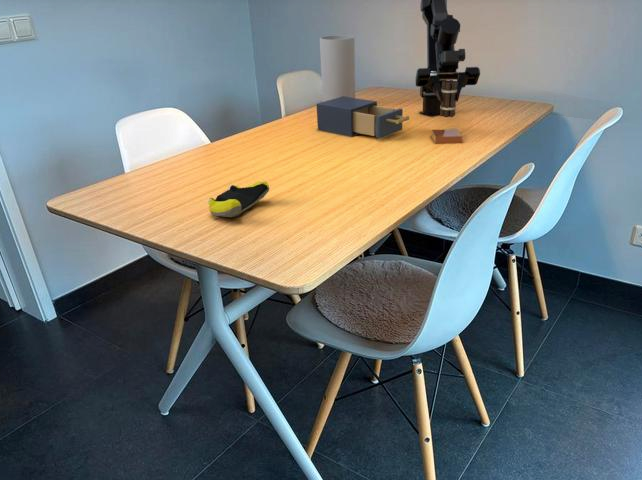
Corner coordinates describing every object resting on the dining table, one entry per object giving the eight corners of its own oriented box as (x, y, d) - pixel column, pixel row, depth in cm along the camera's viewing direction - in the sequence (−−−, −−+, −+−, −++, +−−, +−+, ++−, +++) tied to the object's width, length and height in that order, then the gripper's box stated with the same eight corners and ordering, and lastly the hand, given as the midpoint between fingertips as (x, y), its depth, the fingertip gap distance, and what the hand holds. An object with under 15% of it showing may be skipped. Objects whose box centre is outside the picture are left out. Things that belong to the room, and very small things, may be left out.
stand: (431, 136, 176) (431, 129, 175) (456, 135, 176) (457, 129, 175) (435, 143, 169) (435, 136, 168) (461, 142, 169) (462, 136, 168)
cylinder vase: (362, 107, 213) (361, 36, 200) (339, 113, 205) (337, 40, 193) (338, 102, 220) (336, 34, 208) (316, 108, 212) (312, 38, 200)
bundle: (436, 115, 169) (438, 81, 164) (447, 112, 172) (449, 79, 167) (447, 118, 166) (449, 83, 161) (458, 115, 168) (461, 81, 163)
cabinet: (376, 127, 186) (377, 101, 182) (351, 136, 177) (350, 109, 173) (343, 121, 195) (343, 96, 190) (317, 129, 186) (316, 103, 181)
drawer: (414, 132, 177) (415, 110, 174) (391, 141, 169) (392, 119, 165) (369, 123, 187) (369, 103, 184) (345, 132, 179) (345, 110, 176)
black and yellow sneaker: (274, 202, 131) (239, 196, 135) (272, 180, 128) (236, 175, 132) (237, 227, 119) (200, 220, 123) (234, 203, 116) (196, 196, 120)
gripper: (418, 39, 162) (421, 86, 158) (482, 37, 162) (486, 84, 158) (414, 63, 173) (416, 107, 168) (474, 61, 172) (478, 106, 168)
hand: (449, 101), depth 165 cm, fingers closed on bundle, 4 cm apart
